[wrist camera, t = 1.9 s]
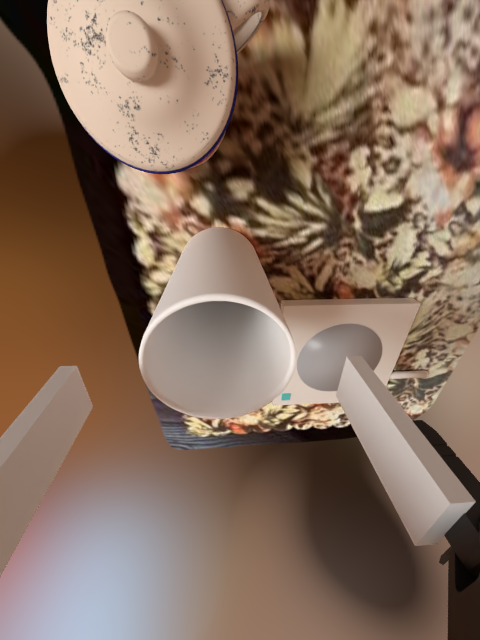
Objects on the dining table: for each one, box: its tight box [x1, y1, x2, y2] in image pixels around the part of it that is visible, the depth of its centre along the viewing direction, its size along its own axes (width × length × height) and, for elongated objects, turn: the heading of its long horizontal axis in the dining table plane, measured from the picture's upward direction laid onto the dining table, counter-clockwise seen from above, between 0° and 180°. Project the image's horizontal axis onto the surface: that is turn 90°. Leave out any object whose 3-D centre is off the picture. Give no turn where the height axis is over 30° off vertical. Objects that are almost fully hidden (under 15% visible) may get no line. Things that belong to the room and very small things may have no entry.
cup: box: [139, 227, 296, 419], centre depth 20 cm, size 8×8×16 cm
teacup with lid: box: [47, 0, 270, 174], centre depth 15 cm, size 12×9×12 cm
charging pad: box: [272, 298, 429, 405], centre depth 34 cm, size 16×22×2 cm
